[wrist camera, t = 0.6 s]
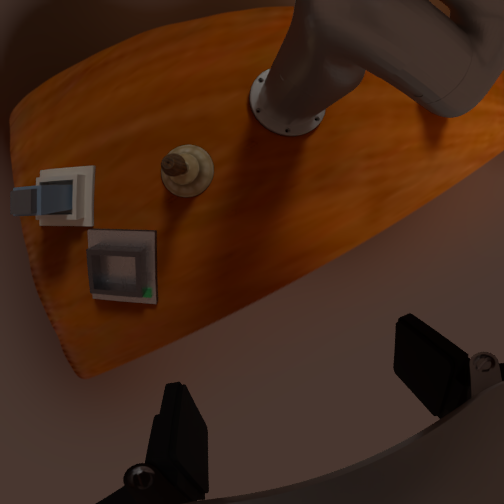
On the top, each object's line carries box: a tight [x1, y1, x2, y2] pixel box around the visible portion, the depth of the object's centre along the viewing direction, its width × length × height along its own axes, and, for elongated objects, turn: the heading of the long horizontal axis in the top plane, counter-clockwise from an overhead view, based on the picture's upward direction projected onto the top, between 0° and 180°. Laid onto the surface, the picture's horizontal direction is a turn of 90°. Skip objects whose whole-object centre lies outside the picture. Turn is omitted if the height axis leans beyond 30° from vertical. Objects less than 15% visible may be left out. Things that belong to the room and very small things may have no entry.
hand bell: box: [161, 145, 214, 197], centre depth 33 cm, size 8×8×16 cm
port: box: [86, 229, 158, 304], centre depth 40 cm, size 12×12×5 cm
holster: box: [36, 166, 95, 226], centre depth 36 cm, size 10×12×4 cm
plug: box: [10, 185, 73, 216], centre depth 32 cm, size 4×6×12 cm, turn 86°
